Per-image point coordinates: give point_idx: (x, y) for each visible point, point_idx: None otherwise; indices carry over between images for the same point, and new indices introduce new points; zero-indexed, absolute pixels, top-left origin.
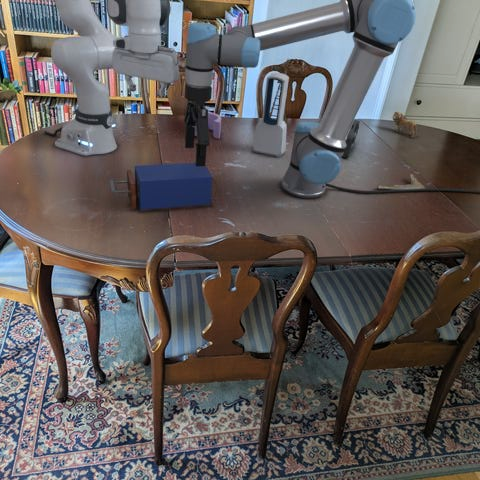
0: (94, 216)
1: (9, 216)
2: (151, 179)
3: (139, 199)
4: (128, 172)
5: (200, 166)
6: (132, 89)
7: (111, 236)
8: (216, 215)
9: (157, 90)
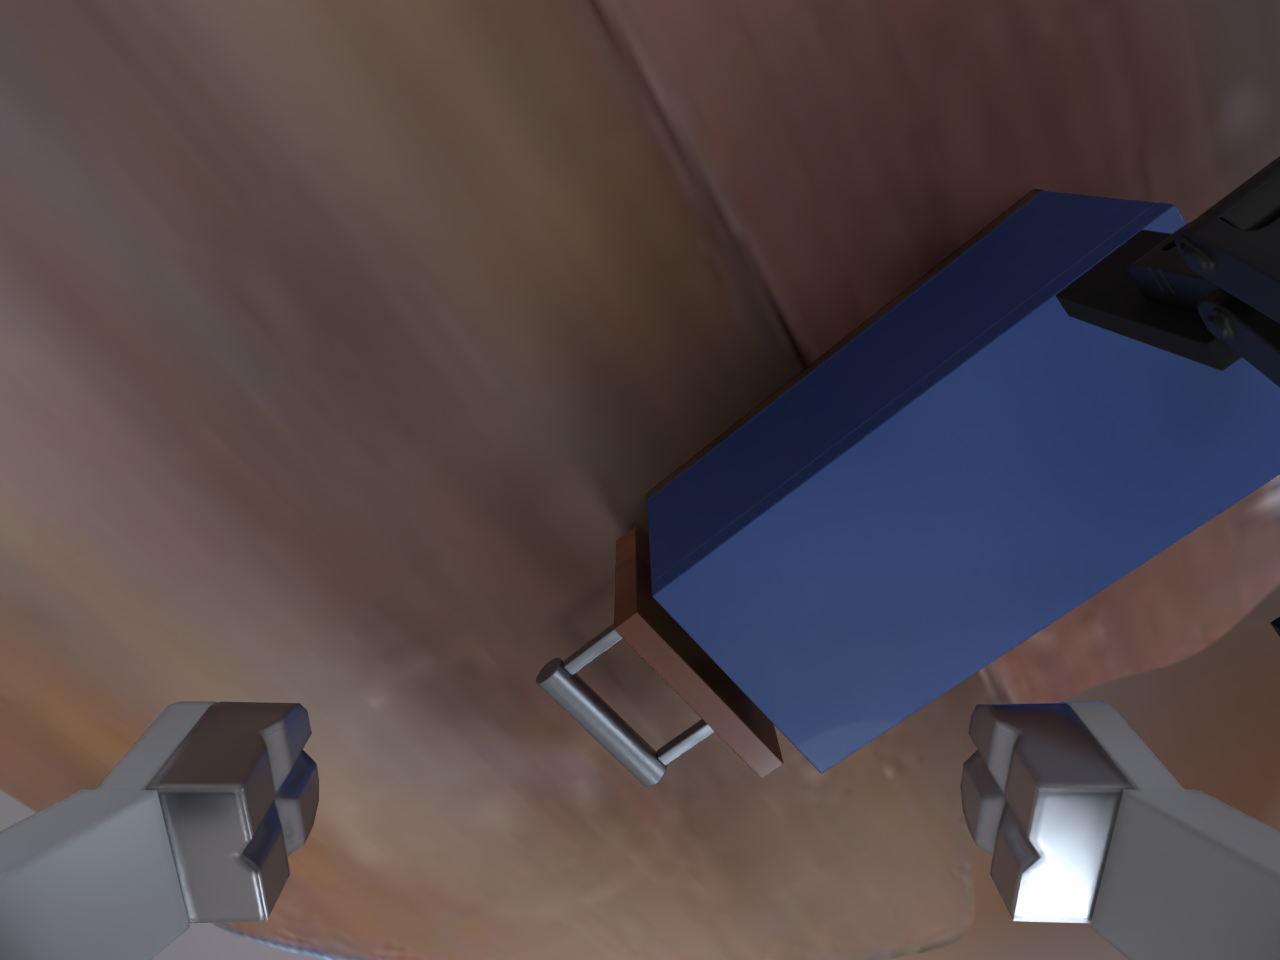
0: (591, 778)
1: (265, 939)
2: (881, 717)
3: None
4: (648, 655)
5: None
6: (291, 845)
7: (768, 866)
8: None
9: (1033, 909)
